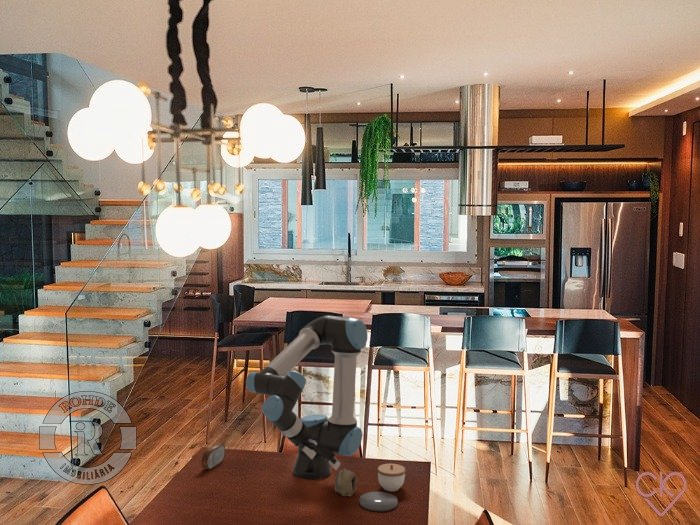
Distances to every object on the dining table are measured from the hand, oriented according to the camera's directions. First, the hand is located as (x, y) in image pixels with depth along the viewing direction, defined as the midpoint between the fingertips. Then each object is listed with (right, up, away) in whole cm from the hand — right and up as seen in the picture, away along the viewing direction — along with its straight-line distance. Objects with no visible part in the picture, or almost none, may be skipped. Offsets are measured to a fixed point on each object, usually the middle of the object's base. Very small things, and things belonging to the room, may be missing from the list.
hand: (325, 461), depth 239 cm
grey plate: (+19, -15, 0) cm, 25 cm away
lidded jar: (+25, -15, +14) cm, 32 cm away
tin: (-48, -12, +33) cm, 59 cm away
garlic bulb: (+8, -15, +8) cm, 19 cm away
